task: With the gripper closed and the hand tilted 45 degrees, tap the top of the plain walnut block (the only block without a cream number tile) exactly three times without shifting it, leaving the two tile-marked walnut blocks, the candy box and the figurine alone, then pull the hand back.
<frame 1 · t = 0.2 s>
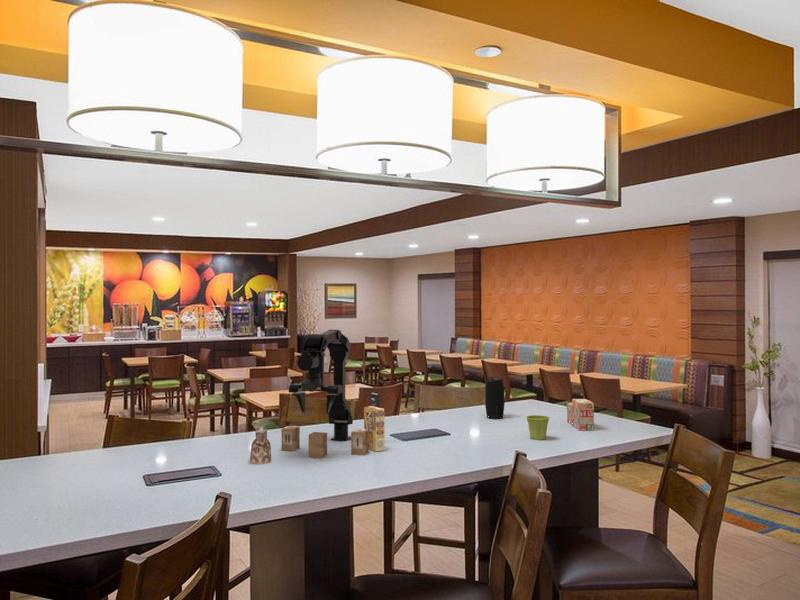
hand: (315, 412, 213), 15 cm above the table, tool pointing down, fingers open, 9 cm apart
plain block: (317, 456, 210), on the table
figurine: (260, 462, 202), on the table
stack of blocks: (579, 427, 267), on the table
tile block 1: (290, 449, 221), on the table
tile block 2: (359, 453, 215), on the table
portable speaker: (494, 418, 289), on the table
plant pot: (537, 439, 241), on the table
candy box: (374, 449, 222), on the table
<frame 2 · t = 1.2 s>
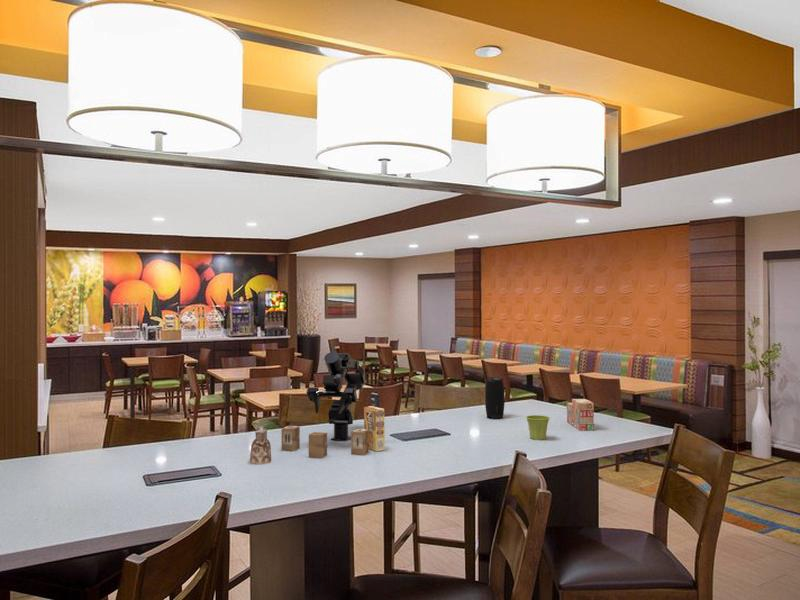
hand: (327, 413, 222), 13 cm above the table, tool tilted 45°, fingers open, 8 cm apart
nothing on the table moved.
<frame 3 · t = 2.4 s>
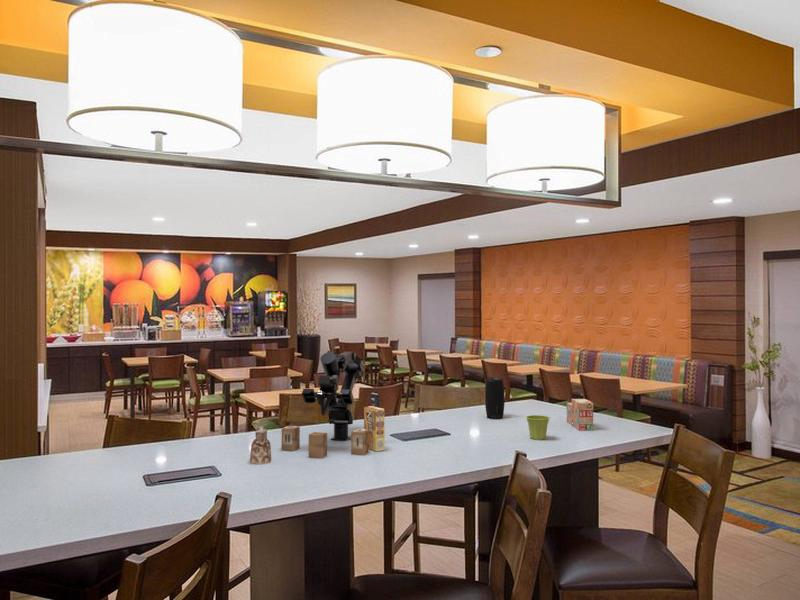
hand: (322, 414, 216), 14 cm above the table, tool tilted 45°, fingers closed
nothing on the table moved.
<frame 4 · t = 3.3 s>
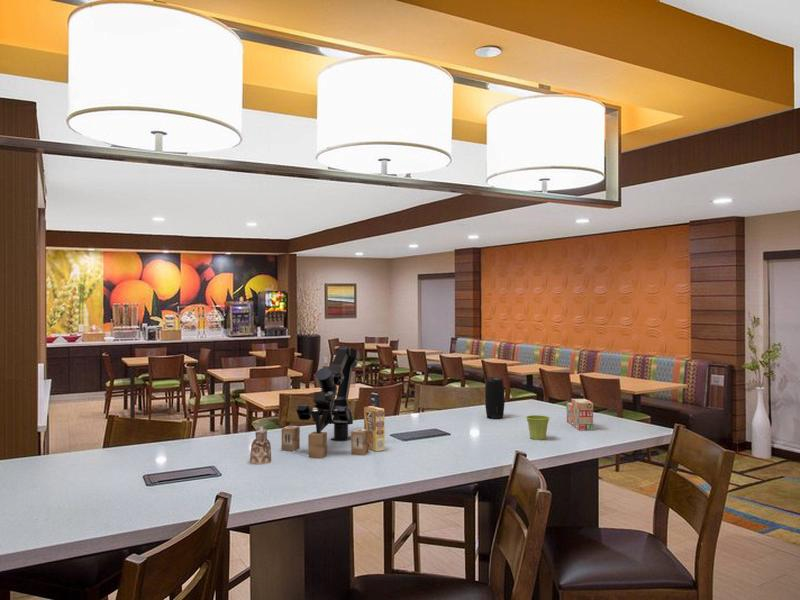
hand: (317, 432, 210), 8 cm above the table, tool tilted 45°, fingers closed, pressing on plain block
plain block: (317, 456, 210), on the table, touching gripper
everything else where it was.
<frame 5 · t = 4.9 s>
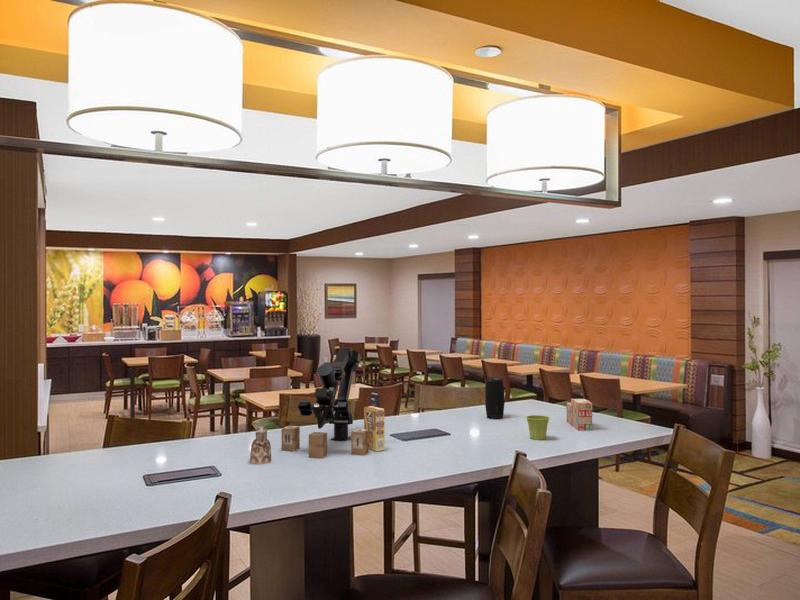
hand: (319, 428, 212), 10 cm above the table, tool tilted 45°, fingers closed
plain block: (317, 456, 210), on the table
everything else where it was.
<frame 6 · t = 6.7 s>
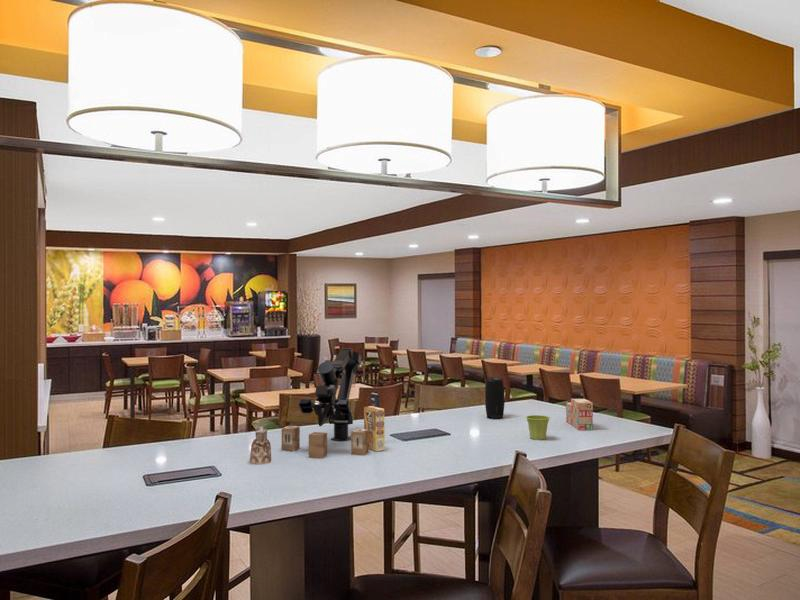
hand: (320, 425, 213), 10 cm above the table, tool tilted 45°, fingers closed
nothing on the table moved.
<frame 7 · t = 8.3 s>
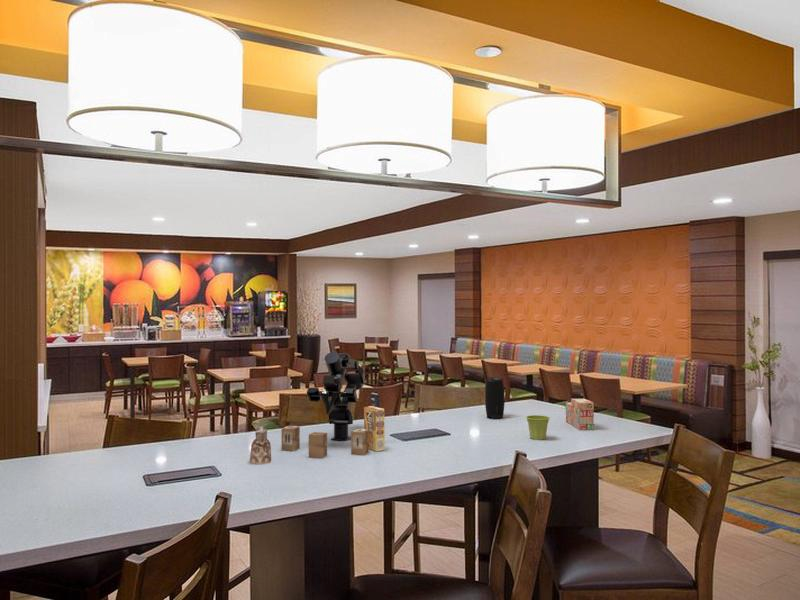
hand: (327, 413, 222), 13 cm above the table, tool tilted 45°, fingers closed
nothing on the table moved.
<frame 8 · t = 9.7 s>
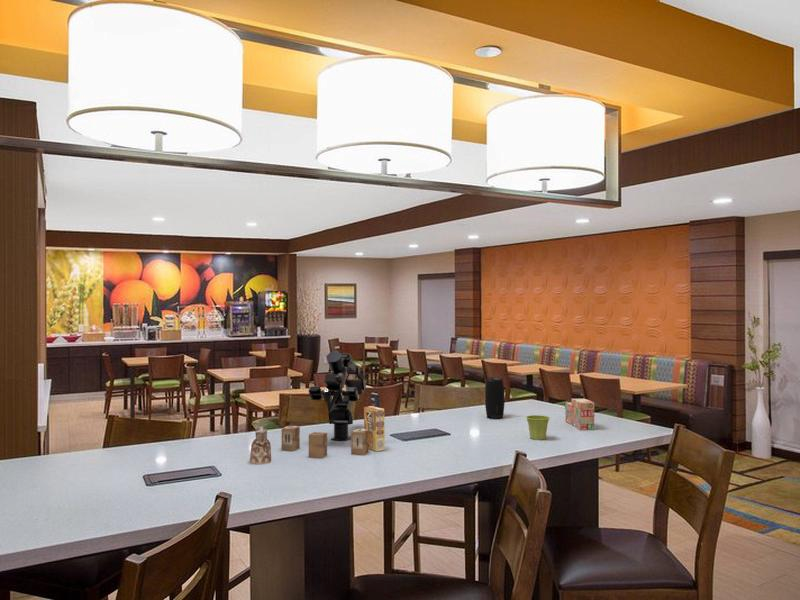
hand: (329, 411, 224), 14 cm above the table, tool tilted 45°, fingers closed
at the end: plain block moved 0.1 cm from its start; plain block tilted 0°; tile block 1 moved 0.1 cm from its start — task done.
